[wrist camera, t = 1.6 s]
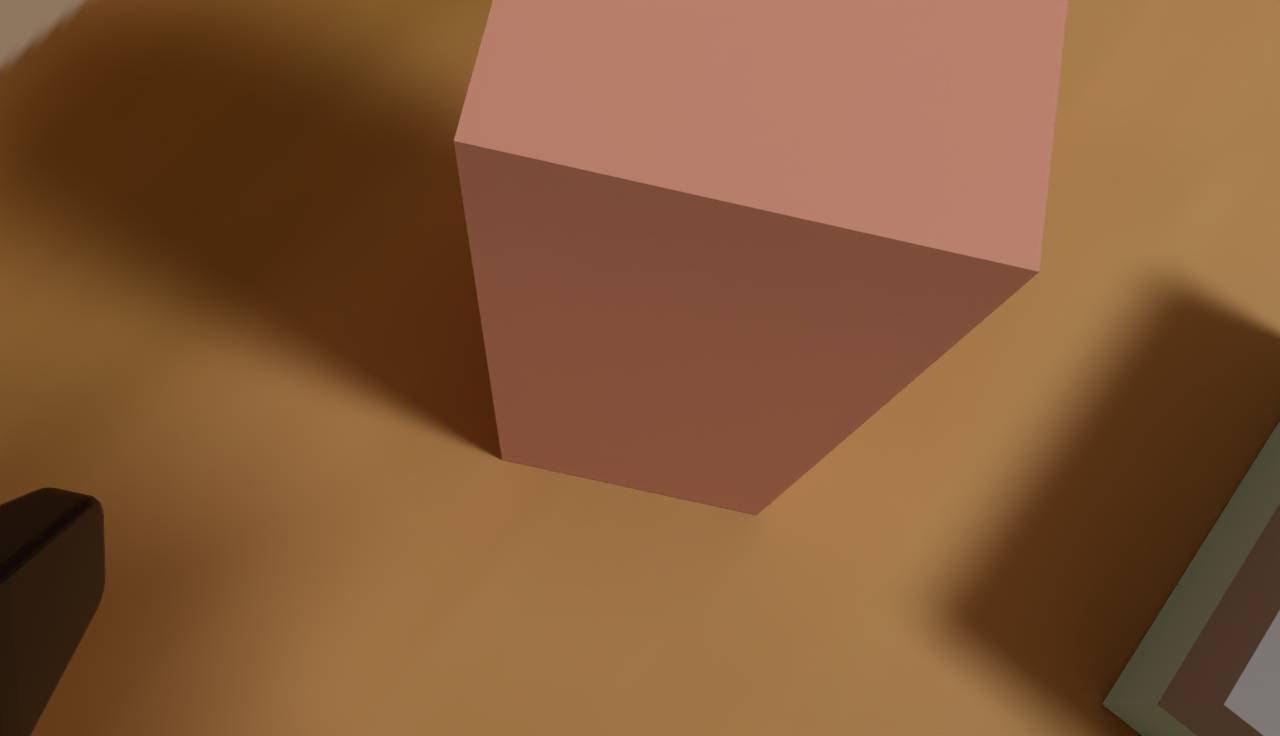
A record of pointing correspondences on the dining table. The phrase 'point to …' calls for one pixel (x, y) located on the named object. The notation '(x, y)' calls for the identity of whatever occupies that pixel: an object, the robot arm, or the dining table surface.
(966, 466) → the dining table surface
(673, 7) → the tall brick
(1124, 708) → the brick base
